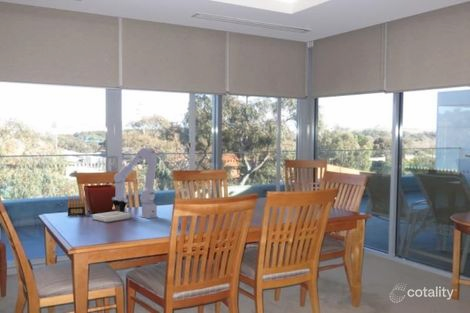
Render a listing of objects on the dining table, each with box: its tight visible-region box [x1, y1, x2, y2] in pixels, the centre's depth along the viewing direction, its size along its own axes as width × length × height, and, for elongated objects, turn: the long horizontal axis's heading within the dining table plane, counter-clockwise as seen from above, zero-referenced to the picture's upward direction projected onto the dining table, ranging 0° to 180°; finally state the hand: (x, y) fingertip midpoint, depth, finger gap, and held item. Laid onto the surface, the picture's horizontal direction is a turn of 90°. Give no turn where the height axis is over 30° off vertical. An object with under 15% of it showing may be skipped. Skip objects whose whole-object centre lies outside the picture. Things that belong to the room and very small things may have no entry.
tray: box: [92, 211, 132, 223], centre depth 281 cm, size 14×18×3 cm
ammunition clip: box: [67, 195, 86, 216], centre depth 293 cm, size 11×2×12 cm, turn 110°
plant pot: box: [83, 184, 115, 213], centre depth 309 cm, size 19×19×17 cm
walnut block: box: [114, 205, 120, 211], centre depth 296 cm, size 4×4×6 cm
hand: (119, 212), depth 296 cm, fingers closed on walnut block, 4 cm apart
